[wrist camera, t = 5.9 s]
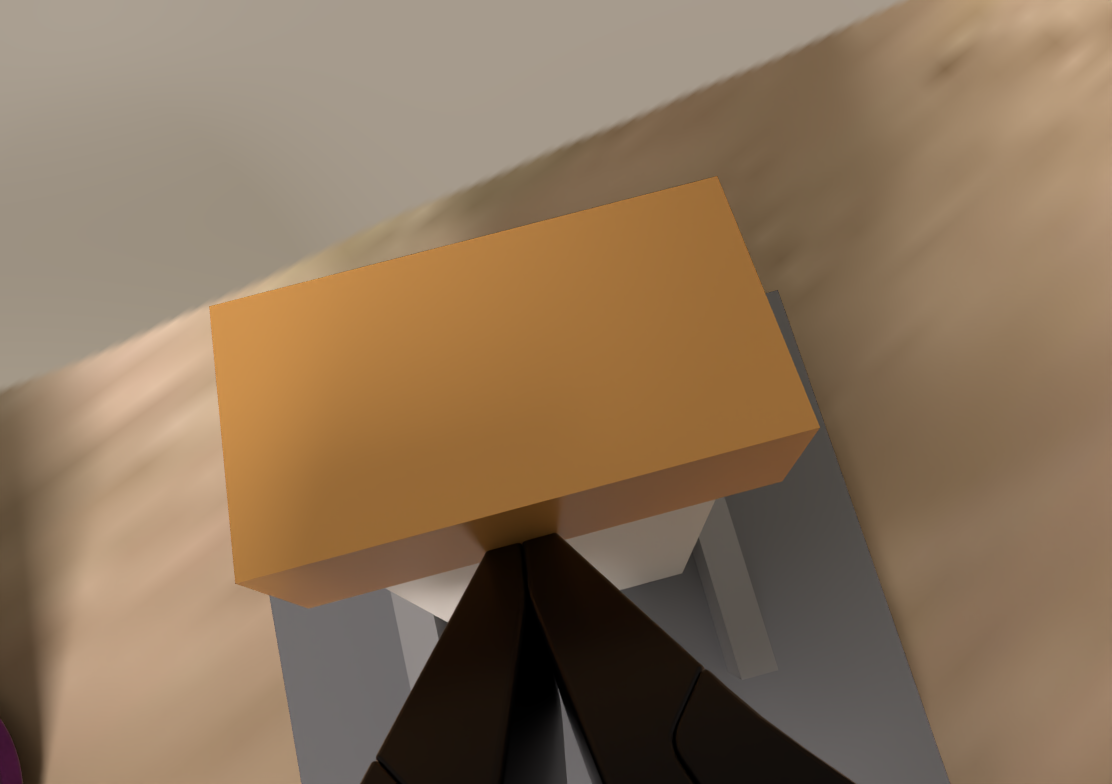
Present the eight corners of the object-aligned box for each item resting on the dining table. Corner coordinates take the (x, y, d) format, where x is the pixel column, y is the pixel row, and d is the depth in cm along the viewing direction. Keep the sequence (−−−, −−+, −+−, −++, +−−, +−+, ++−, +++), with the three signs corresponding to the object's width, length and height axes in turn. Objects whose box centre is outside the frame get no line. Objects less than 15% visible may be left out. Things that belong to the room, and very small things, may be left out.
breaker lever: (709, 585, 18) (820, 427, 8) (446, 656, 18) (236, 583, 8) (666, 452, 19) (716, 175, 9) (420, 517, 19) (209, 306, 9)
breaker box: (918, 833, 21) (1025, 913, 16) (388, 982, 20) (326, 1115, 15) (749, 331, 24) (794, 265, 19) (290, 452, 23) (212, 417, 18)
